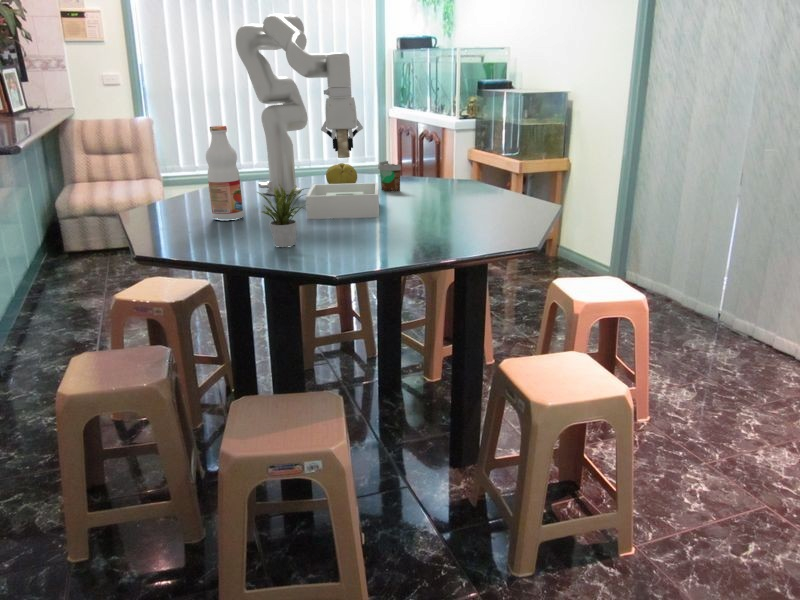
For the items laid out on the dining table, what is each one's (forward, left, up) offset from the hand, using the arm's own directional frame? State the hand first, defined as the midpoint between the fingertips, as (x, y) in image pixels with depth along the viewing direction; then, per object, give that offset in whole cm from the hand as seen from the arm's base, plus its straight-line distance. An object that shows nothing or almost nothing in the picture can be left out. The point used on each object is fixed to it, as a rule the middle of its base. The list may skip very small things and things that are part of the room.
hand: (343, 150), depth 217 cm
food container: (+14, +23, -18) cm, 33 cm away
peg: (0, 0, -2) cm, 2 cm away
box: (0, -14, -18) cm, 23 cm away
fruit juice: (-36, -21, -18) cm, 45 cm away
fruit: (-3, +25, -18) cm, 31 cm away
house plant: (-12, -57, -18) cm, 61 cm away
